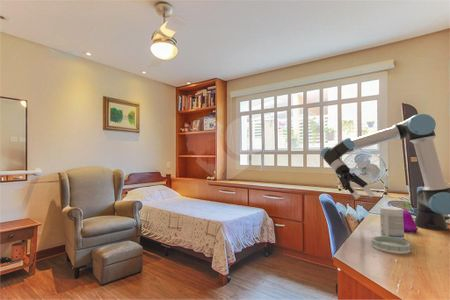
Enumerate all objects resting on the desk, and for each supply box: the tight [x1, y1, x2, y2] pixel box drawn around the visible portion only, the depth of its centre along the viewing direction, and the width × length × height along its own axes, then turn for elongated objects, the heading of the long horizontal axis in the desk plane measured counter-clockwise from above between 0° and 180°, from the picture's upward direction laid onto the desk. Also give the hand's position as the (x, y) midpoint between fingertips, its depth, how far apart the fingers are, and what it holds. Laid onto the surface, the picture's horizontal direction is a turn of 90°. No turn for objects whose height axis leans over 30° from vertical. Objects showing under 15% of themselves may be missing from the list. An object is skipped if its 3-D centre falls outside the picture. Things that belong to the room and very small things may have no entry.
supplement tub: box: [379, 206, 405, 240], centre depth 123 cm, size 10×10×15 cm
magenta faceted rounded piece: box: [402, 202, 419, 233], centre depth 137 cm, size 11×11×15 cm
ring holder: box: [371, 235, 412, 255], centre depth 109 cm, size 14×14×3 cm
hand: (365, 196), depth 134 cm, fingers open, 13 cm apart
